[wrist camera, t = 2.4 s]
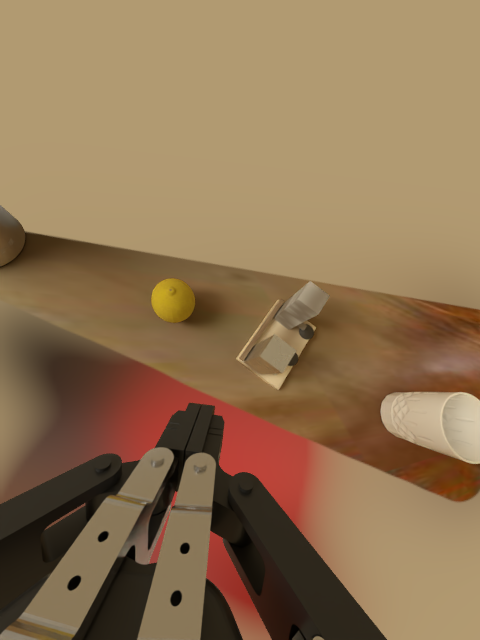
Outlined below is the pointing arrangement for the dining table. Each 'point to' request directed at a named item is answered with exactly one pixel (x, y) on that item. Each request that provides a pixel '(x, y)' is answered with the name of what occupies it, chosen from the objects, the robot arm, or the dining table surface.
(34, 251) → the dining table surface
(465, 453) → the white cup
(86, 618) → the robot arm
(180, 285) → the lemon
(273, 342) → the block
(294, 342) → the gauge board
